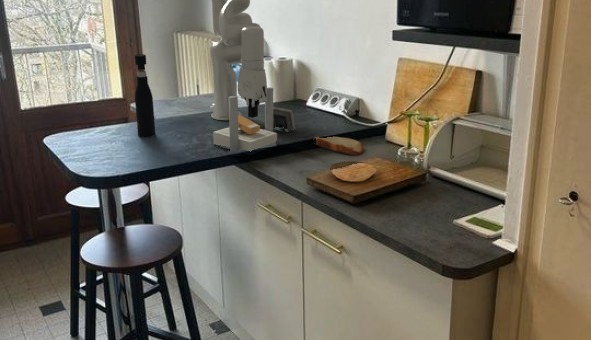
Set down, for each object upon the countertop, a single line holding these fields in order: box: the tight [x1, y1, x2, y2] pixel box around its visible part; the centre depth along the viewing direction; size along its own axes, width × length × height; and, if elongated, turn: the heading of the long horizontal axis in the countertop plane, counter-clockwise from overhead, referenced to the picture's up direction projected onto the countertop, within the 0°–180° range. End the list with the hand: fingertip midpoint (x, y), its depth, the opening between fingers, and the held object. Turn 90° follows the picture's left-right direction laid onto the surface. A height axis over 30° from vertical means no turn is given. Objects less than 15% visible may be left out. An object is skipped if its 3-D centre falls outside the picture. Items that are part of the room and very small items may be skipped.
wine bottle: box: [134, 53, 156, 138], centre depth 210 cm, size 6×6×30 cm
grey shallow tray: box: [212, 127, 278, 152], centre depth 204 cm, size 18×14×6 cm
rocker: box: [238, 114, 261, 134], centre depth 202 cm, size 10×5×2 cm, turn 52°
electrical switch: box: [273, 106, 296, 131], centre depth 221 cm, size 9×5×9 cm, turn 57°
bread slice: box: [314, 136, 365, 156], centre depth 204 cm, size 18×18×4 cm
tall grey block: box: [264, 86, 274, 132], centre depth 206 cm, size 5×5×20 cm
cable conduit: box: [228, 96, 239, 151], centre depth 193 cm, size 5×5×20 cm
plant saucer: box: [328, 160, 364, 172], centre depth 178 cm, size 15×15×3 cm
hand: (253, 116), depth 199 cm, fingers closed
